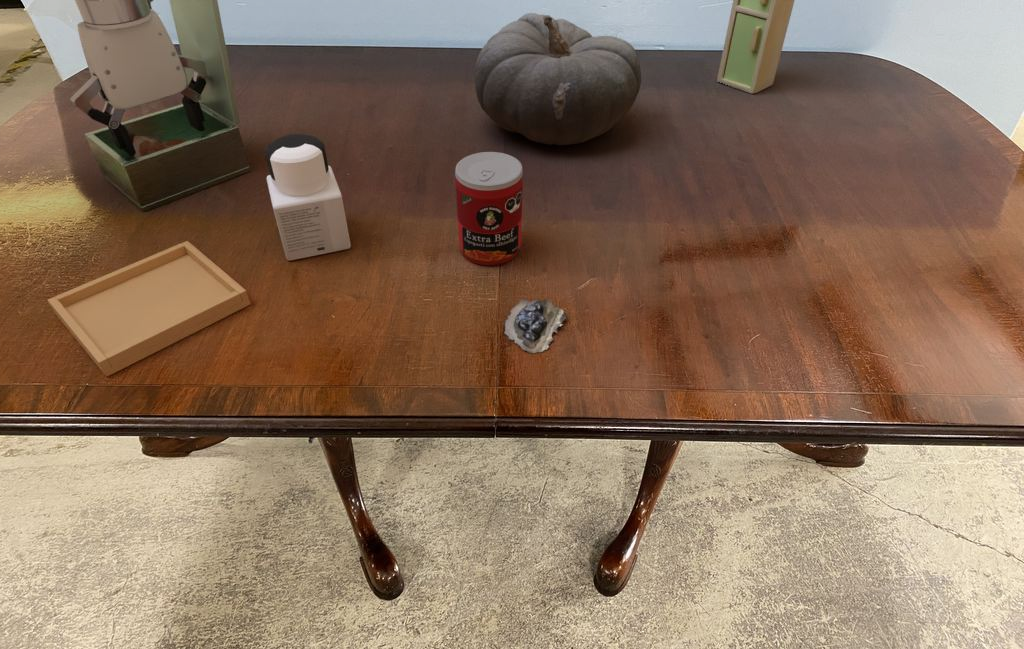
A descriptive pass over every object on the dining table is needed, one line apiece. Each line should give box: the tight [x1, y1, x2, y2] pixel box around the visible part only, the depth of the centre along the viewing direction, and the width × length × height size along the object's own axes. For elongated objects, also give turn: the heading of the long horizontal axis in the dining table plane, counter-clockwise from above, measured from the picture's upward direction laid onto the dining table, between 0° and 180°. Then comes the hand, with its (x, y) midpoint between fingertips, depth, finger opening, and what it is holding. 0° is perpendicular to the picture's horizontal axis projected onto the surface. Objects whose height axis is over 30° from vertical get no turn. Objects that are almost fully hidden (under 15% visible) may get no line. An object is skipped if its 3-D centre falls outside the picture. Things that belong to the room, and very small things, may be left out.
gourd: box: [474, 12, 642, 146], centre depth 103 cm, size 25×25×17 cm
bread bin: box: [84, 103, 251, 213], centre depth 93 cm, size 16×13×7 cm
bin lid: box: [169, 0, 241, 125], centre depth 90 cm, size 16×13×1 cm
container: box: [264, 133, 352, 261], centre depth 79 cm, size 8×8×13 cm
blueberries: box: [503, 298, 568, 354], centre depth 71 cm, size 7×8×2 cm
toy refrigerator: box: [716, 0, 795, 95], centre depth 115 cm, size 8×7×21 cm
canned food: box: [454, 151, 524, 266], centre depth 79 cm, size 8×8×11 cm
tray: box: [47, 240, 251, 377], centre depth 72 cm, size 16×14×2 cm
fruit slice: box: [133, 136, 187, 159], centre depth 93 cm, size 8×7×5 cm
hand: (164, 139), depth 91 cm, fingers open, 9 cm apart
